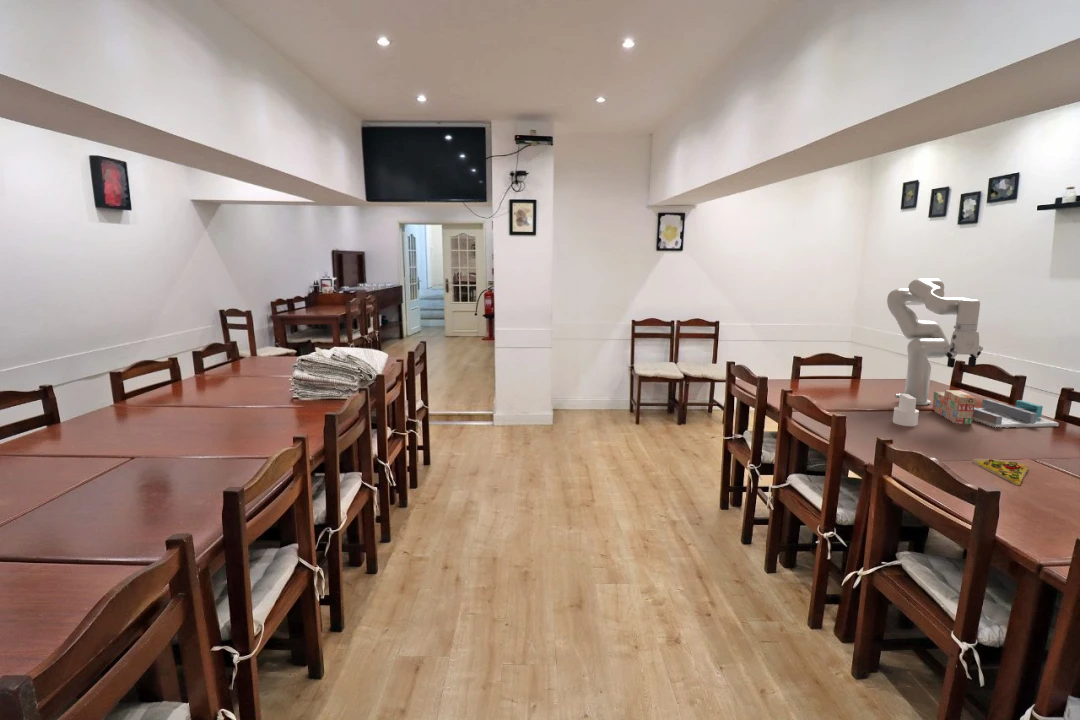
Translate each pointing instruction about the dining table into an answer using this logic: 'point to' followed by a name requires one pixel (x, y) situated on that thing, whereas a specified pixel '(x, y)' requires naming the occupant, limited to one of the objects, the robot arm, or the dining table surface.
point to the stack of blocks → (954, 406)
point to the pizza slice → (1004, 469)
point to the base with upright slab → (906, 411)
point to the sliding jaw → (1015, 409)
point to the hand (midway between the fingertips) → (961, 366)
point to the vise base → (1007, 420)
